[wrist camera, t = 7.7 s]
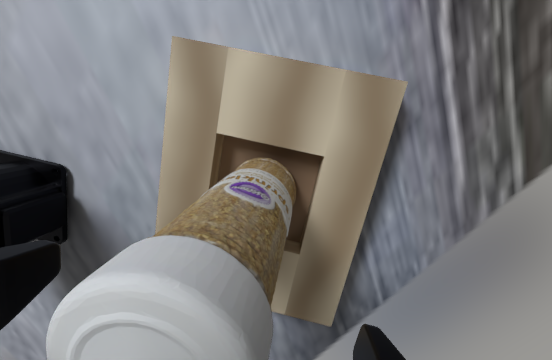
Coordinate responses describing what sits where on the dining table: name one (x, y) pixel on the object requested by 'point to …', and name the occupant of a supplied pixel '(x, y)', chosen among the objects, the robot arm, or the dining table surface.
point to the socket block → (281, 153)
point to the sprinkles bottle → (188, 280)
